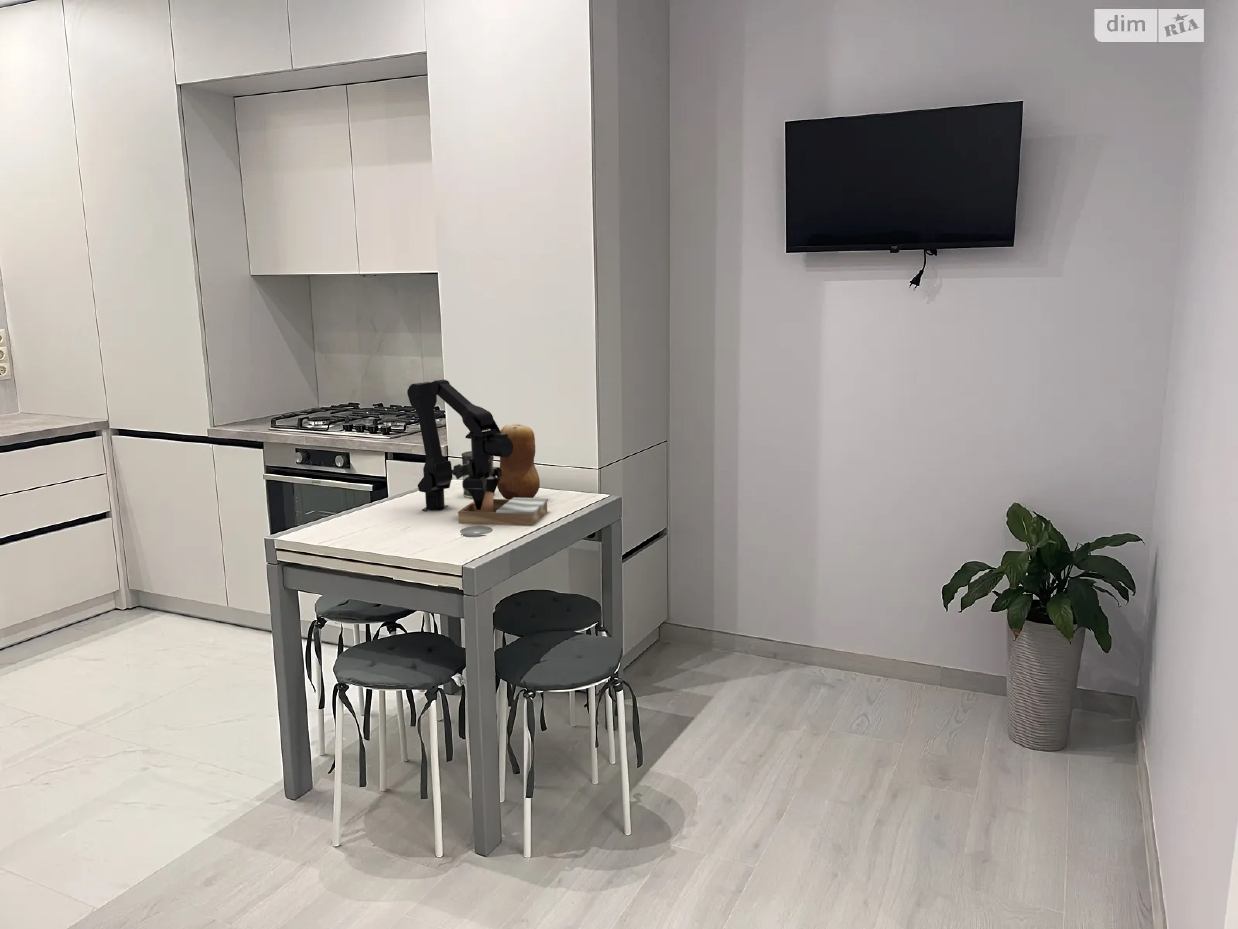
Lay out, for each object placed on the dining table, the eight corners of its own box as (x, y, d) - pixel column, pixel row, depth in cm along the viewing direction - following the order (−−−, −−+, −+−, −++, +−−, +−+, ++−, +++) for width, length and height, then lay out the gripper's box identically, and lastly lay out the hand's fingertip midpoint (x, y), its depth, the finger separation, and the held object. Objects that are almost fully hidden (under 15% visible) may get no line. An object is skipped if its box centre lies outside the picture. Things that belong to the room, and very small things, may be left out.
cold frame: (478, 511, 291) (477, 496, 290) (548, 513, 287) (548, 498, 286) (458, 525, 275) (457, 509, 274) (533, 527, 271) (533, 511, 270)
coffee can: (487, 499, 307) (485, 456, 304) (458, 497, 310) (456, 455, 307) (500, 492, 317) (498, 450, 314) (471, 491, 320) (469, 449, 317)
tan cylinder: (478, 513, 285) (477, 491, 284) (496, 514, 284) (495, 491, 283) (472, 518, 280) (471, 495, 279) (490, 519, 279) (489, 495, 278)
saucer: (466, 528, 271) (466, 525, 271) (496, 529, 270) (496, 526, 270) (455, 536, 263) (455, 533, 263) (486, 537, 261) (486, 534, 261)
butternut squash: (546, 498, 307) (543, 421, 303) (532, 507, 295) (529, 428, 290) (506, 496, 311) (502, 420, 306) (490, 505, 298) (487, 427, 293)
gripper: (466, 448, 289) (468, 498, 292) (443, 459, 271) (446, 512, 274) (501, 448, 287) (503, 499, 290) (481, 460, 269) (483, 513, 272)
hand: (483, 505), depth 282 cm, fingers open, 9 cm apart
